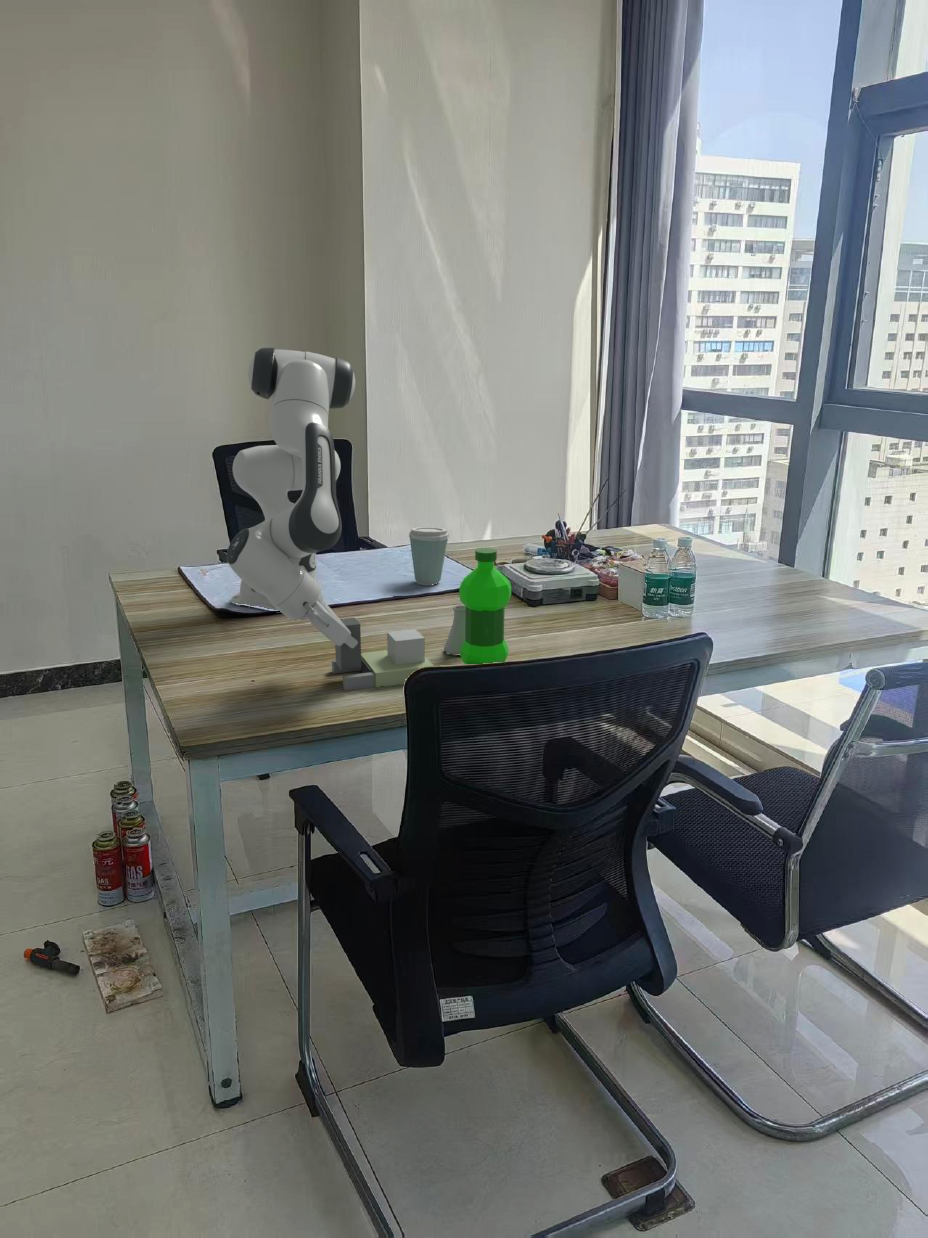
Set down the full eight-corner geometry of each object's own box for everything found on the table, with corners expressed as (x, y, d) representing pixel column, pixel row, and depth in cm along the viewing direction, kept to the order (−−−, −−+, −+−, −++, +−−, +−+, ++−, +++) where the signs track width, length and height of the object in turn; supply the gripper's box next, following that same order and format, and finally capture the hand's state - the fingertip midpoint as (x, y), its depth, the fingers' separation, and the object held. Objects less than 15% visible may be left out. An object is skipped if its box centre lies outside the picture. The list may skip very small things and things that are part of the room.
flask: (442, 646, 215) (442, 602, 212) (475, 645, 215) (475, 601, 212) (444, 657, 208) (444, 612, 205) (478, 656, 209) (479, 611, 206)
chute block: (341, 670, 192) (340, 626, 189) (335, 662, 196) (334, 619, 193) (361, 667, 193) (360, 624, 190) (355, 660, 197) (354, 617, 194)
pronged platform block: (345, 691, 189) (344, 652, 187) (331, 670, 200) (330, 633, 198) (434, 680, 195) (434, 642, 193) (415, 660, 206) (415, 624, 204)
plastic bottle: (455, 676, 197) (456, 555, 189) (464, 658, 207) (465, 543, 199) (505, 680, 196) (507, 558, 188) (511, 662, 205) (514, 545, 198)
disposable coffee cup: (407, 577, 267) (407, 523, 263) (447, 577, 269) (447, 523, 264) (410, 588, 257) (409, 532, 253) (451, 587, 259) (451, 531, 254)
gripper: (323, 599, 177) (376, 644, 184) (299, 571, 196) (348, 613, 202) (299, 625, 177) (353, 669, 184) (278, 595, 195) (328, 636, 202)
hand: (350, 640), depth 193 cm, fingers closed on chute block, 4 cm apart
